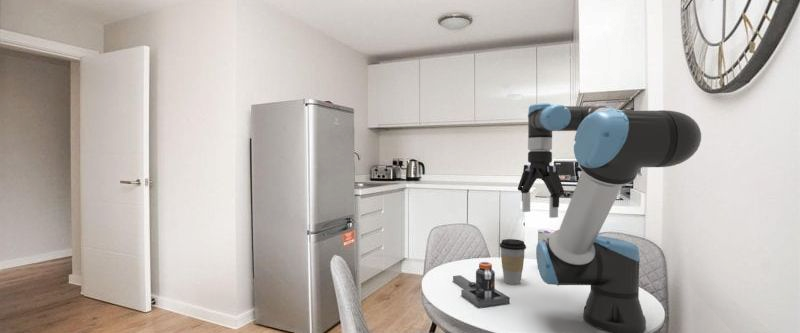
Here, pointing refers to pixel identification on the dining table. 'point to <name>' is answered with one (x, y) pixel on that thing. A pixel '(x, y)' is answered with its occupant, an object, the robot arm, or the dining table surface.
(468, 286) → the square metal pan
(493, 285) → the pill bottle
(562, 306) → the dining table surface
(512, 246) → the coffee cup
